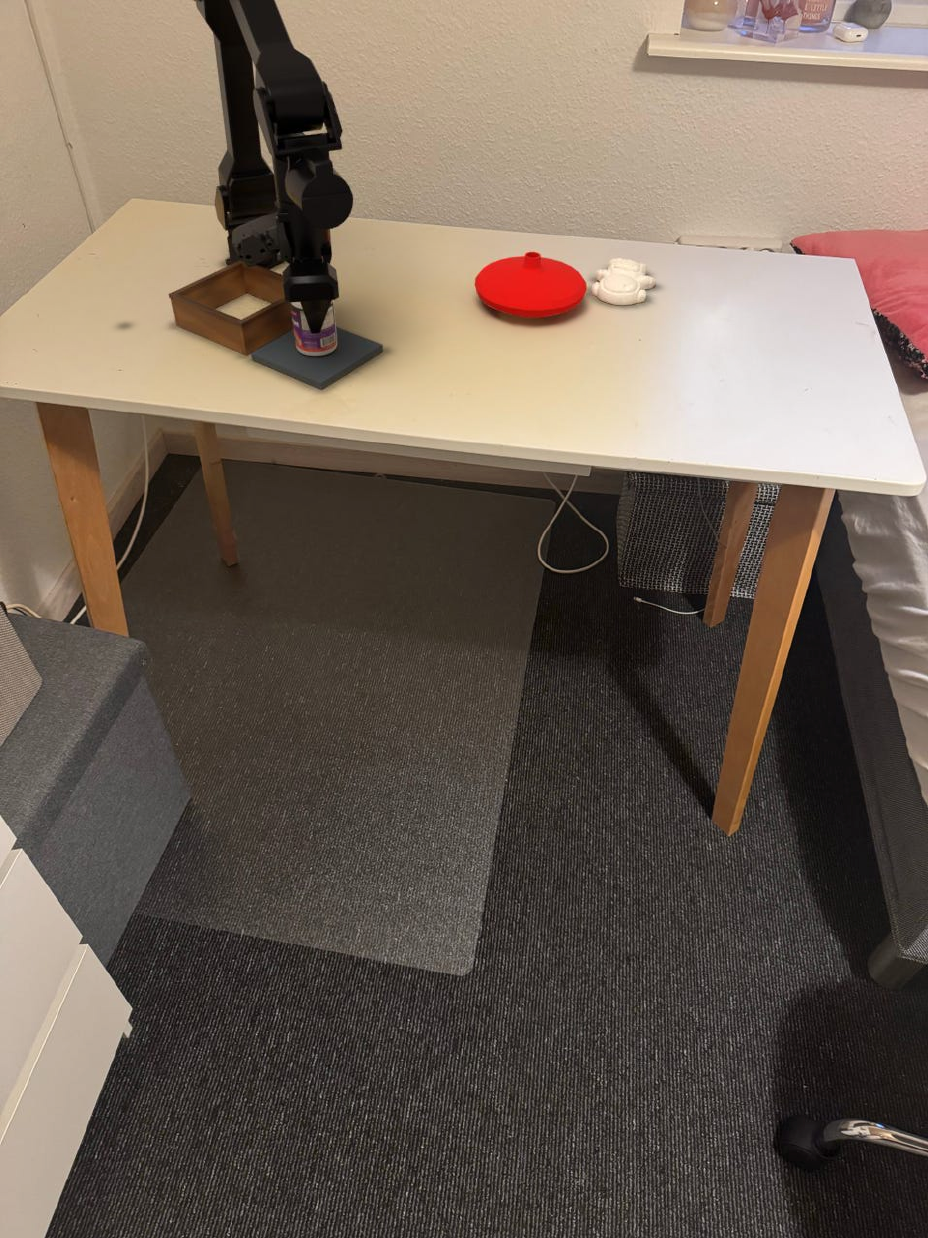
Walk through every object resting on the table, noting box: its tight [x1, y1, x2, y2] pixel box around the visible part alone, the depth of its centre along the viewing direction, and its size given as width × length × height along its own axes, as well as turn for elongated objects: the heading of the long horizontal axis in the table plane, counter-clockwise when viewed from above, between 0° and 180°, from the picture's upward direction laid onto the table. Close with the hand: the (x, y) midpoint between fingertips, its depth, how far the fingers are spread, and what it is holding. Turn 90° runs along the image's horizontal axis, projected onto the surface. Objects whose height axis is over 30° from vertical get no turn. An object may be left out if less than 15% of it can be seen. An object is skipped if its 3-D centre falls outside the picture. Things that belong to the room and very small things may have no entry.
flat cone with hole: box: [474, 251, 588, 319], centre depth 131 cm, size 16×16×7 cm
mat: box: [250, 326, 384, 391], centre depth 122 cm, size 12×12×1 cm
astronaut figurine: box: [591, 257, 657, 306], centre depth 137 cm, size 9×12×3 cm
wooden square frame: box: [168, 260, 293, 356], centre depth 127 cm, size 13×13×4 cm
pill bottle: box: [290, 300, 337, 356], centre depth 118 cm, size 5×5×10 cm
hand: (314, 321), depth 119 cm, fingers closed on pill bottle, 5 cm apart
